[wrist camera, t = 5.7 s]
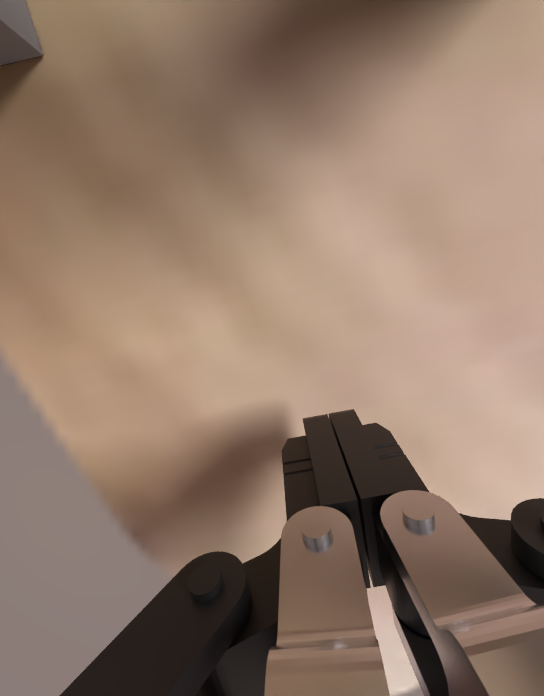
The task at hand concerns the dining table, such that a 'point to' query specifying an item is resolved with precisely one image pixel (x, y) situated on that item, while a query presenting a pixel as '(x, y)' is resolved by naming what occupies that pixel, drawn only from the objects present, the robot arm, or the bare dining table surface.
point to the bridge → (17, 33)
